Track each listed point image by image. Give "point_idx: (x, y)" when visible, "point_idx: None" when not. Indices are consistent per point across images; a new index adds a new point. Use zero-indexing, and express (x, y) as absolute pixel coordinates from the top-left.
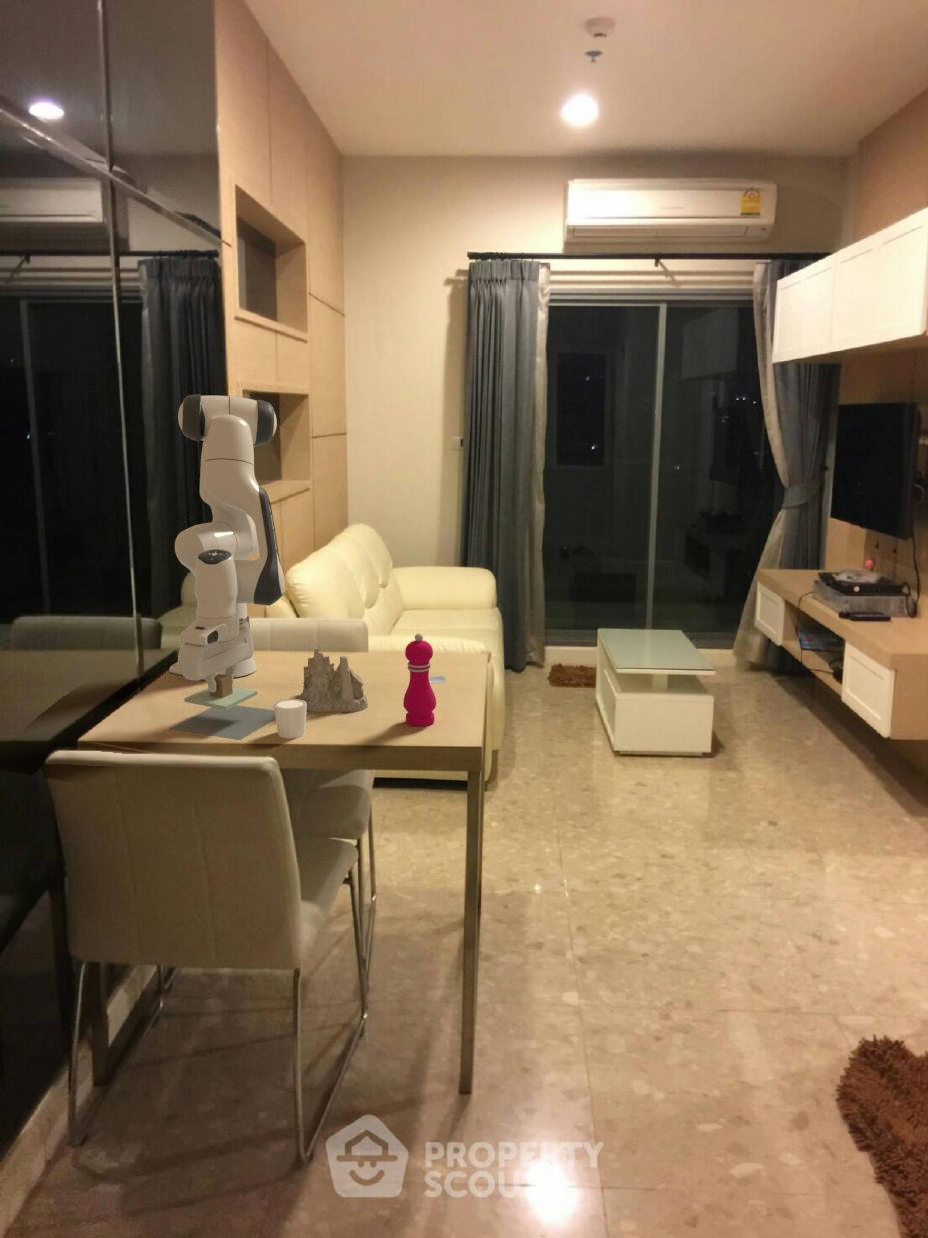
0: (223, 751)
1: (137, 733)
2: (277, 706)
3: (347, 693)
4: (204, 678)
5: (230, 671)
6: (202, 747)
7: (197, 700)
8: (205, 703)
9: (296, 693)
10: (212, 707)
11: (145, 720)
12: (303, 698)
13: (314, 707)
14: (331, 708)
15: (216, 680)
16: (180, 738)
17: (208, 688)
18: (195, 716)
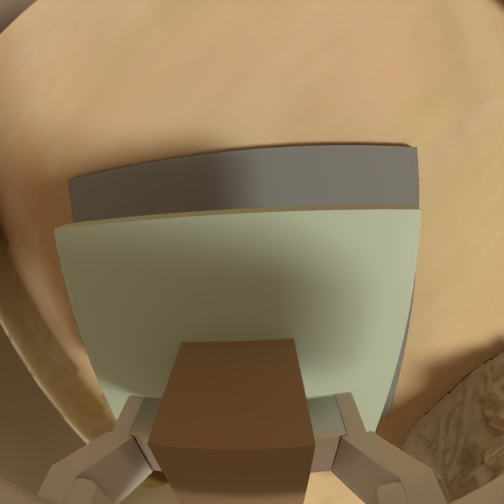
0: (84, 419)
1: (23, 109)
2: None
3: None
4: (60, 463)
5: (365, 489)
6: (61, 370)
7: (82, 326)
8: (98, 372)
9: None
10: (360, 150)
11: (121, 16)
12: (446, 425)
13: (411, 450)
14: None
15: (170, 478)
16: (52, 273)
17: (123, 408)
18: (224, 160)
